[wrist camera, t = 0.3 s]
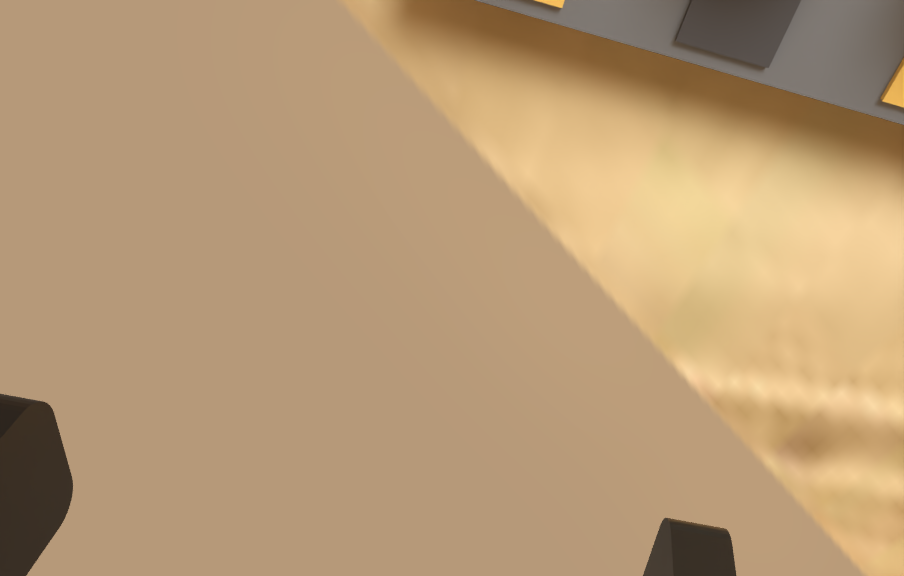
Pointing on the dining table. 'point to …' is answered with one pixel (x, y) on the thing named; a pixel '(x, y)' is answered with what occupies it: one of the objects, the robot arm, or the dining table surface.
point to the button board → (760, 41)
